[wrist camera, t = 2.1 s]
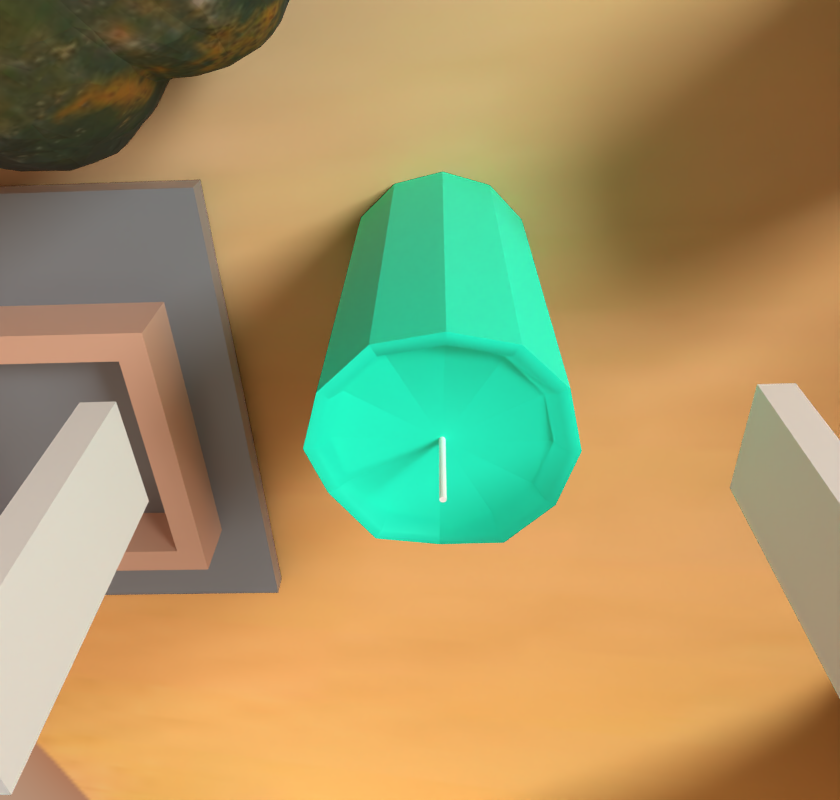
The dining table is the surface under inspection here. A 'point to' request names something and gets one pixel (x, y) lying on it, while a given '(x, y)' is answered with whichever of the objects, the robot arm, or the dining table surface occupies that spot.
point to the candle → (443, 373)
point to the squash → (107, 68)
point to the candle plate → (135, 371)
